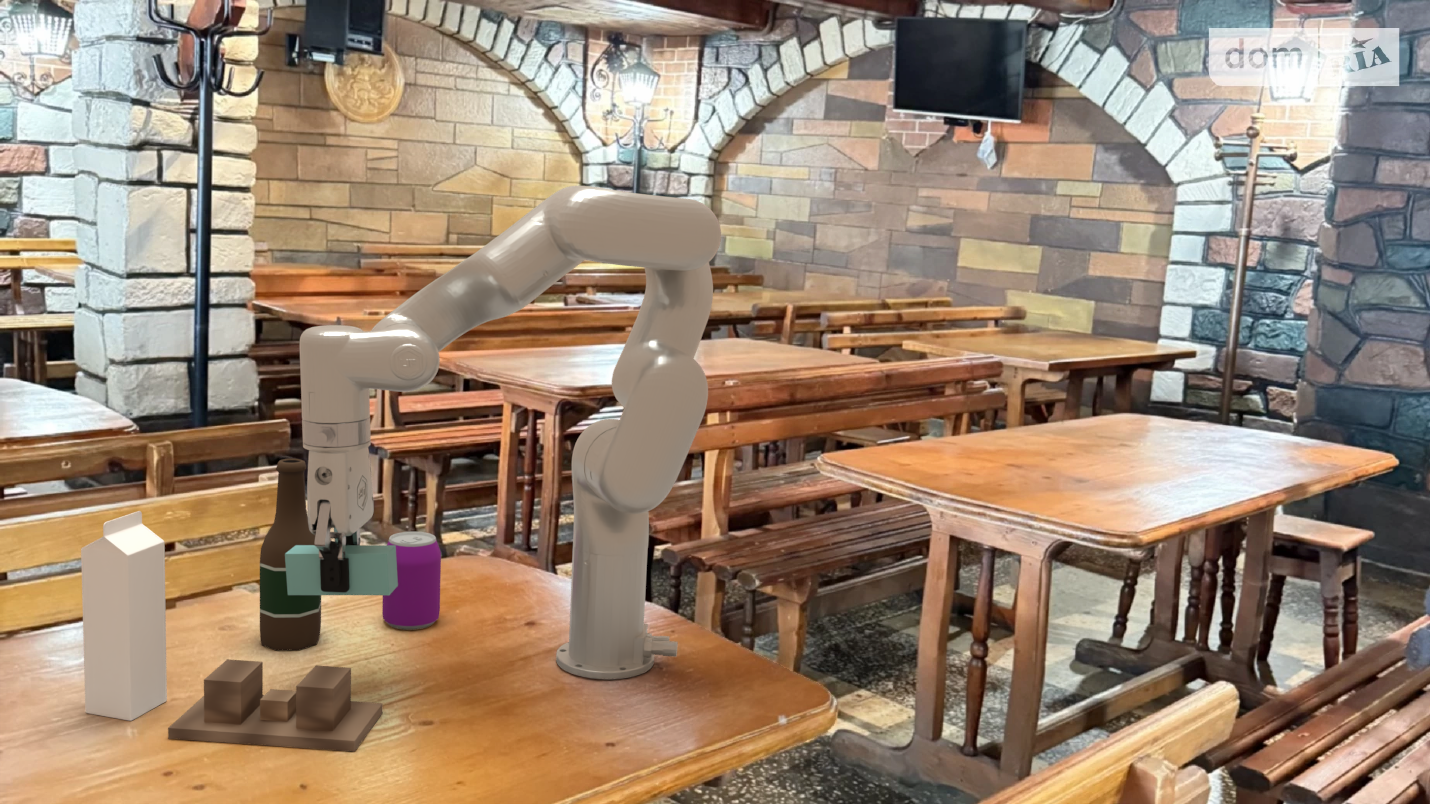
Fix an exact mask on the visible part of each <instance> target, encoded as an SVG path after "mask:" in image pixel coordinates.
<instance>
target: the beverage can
mask: <svg viewBox="0 0 1430 804" xmlns="http://www.w3.org/2000/svg"><path fill="white" fill-rule="evenodd" d="M386 545H396V561H397V579H398V586H397V587H396V588H395V590H394V591H393V592H392V593H391V594H390V595H382V607H381V608H382V610H381V611H382V612H381V613H382V619H383V620H384V622H386V623H387V624H388V625H389V626H390V627H392V628H394V629H398V630H404V631H406V630H408V631H411V630H412V631H413V630H415V631H416V630H422V629H427V628H428V627H430V626H432V625H433V624H434V623H435V622H436V621H437V620H439V618H440V610H441V574H442V573H441V572H442V571H441V568H442V566H441V565H442V563H441V561H442V551H441V548H440V545H439V543H438V541H437V537H436V536H435V535H434V534H432V533H430V532H425V531H403V532H402V531H401V532H396V533H394V534H392V535H389V538H388V541H387V544H386Z"/></svg>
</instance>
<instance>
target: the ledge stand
mask: <svg viewBox="0 0 1430 804" xmlns="http://www.w3.org/2000/svg"><path fill="white" fill-rule="evenodd" d="M263 663H264V662H263V661H259V660H257V661H256V660H255V661H254V660H245V659H244V660H243V659H241V660H240V659H226V660H225V661H224V662H223V663H221V664H219V666H217V668H215V669H214V670H213V671H212V672H211V673H210V674H208V675H207V676H206V677H205V678H204V679H203V696H202V697H201V698H200V699H199V700H197V701H196V702H195V703H194V704H193V705H192V706H190V708H189V709H187V710H186V711H185V712H184V713H183V714H182V715H181V716H179V717H178V719H176V720H175V721H174V722H173V723H172V724H171V725H170V726H169V727H168V728H167V737H168V739H169V740H170V739H171V740H185V741H196V742H197V741H199V742H213V743H227V744H228V743H229V744H244V745H256V746H257V745H258V746H270V747H283V748H284V747H285V748H300V749H313V750H314V749H315V750H325V751H328V750H329V751H342V752H354V753H355V752H356V750H357V749H358V747H359V746H360V745H361V744H362V742H363V741H364V740H365V738H366V736H368V734H369V733H370V731H371V730H372V728H373V727H375V726H374V725H375V724H377V721H378V720H379V719H380V717H381V716H382V715H383V709H384V708H383V706H384V703H383V702H373V701H372V702H371V701H356V700H352V667H348V666H346V667H345V666H344V667H343V666H330V665H317V664H316V665H314V667H313V668H312V669H310V670H309V672H308V673H307V674H306V675H305V676H304V677H303V678H302V679H301V681H300V682H298V683H297V684H296V686H295V690H290V689H287V690H286V689H276V688H275V689H273V688H270V689H269V690H268V691H267V692H266V693H265V694H263V693H264V692H263V690H264V689H263V688H264V685H263V684H264V683H263V682H264V681H263V680H264V678H263V676H264V675H263V671H264V670H263V669H264V668H263V666H264V665H263Z"/></svg>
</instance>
